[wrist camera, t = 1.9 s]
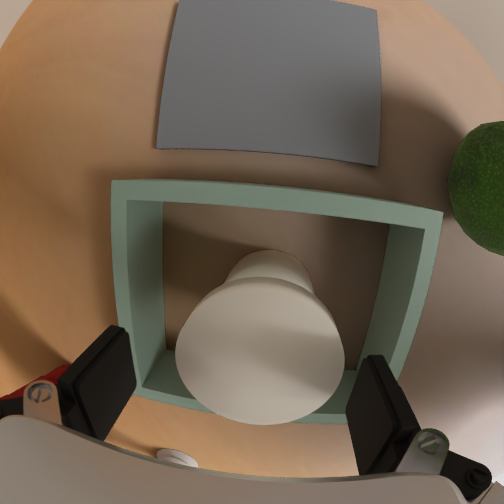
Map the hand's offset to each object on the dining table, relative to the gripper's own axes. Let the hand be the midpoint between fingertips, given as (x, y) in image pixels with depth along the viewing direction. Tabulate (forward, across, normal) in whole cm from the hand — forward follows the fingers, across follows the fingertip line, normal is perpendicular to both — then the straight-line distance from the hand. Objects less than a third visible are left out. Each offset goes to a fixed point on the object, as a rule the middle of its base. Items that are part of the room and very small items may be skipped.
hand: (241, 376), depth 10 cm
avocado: (+9, -14, -9) cm, 19 cm away
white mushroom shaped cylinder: (+9, -1, 0) cm, 9 cm away
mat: (+9, 0, -15) cm, 18 cm away
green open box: (+9, -1, 0) cm, 9 cm away
